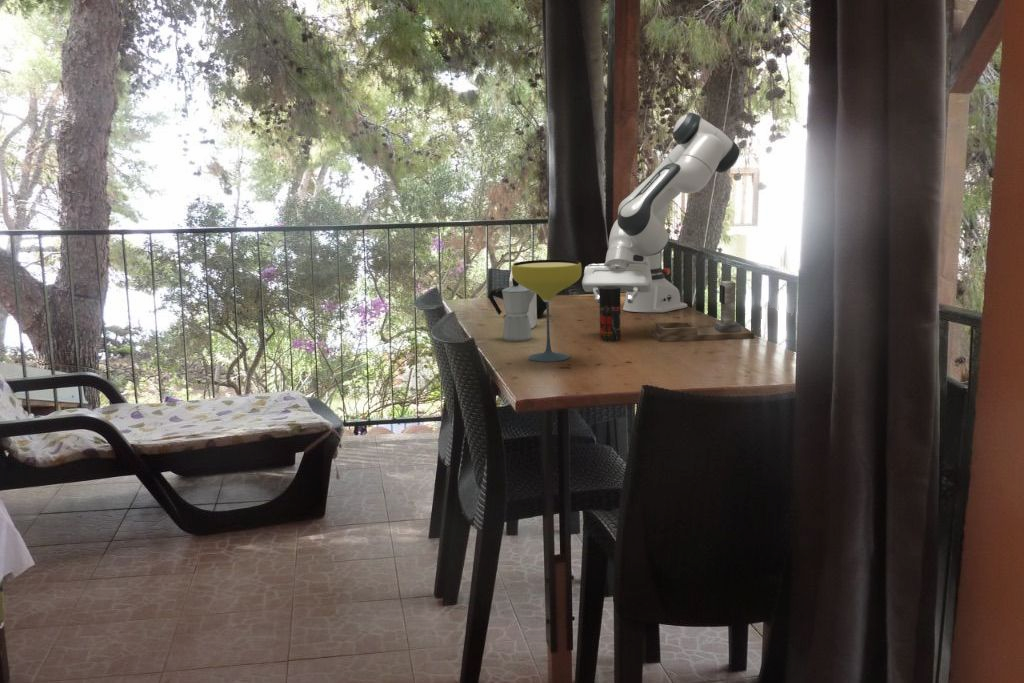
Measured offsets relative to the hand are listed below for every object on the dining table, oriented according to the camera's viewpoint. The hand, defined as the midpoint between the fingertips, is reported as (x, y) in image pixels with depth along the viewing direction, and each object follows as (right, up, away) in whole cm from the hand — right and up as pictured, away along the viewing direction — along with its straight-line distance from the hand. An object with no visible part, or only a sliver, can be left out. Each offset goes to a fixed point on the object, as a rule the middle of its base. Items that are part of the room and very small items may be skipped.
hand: (614, 301), depth 277 cm
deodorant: (-1, -11, 0) cm, 11 cm away
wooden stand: (+25, -10, +1) cm, 27 cm away
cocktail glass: (-20, -16, -22) cm, 33 cm away
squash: (-24, -3, +44) cm, 51 cm away
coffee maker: (-29, -11, +6) cm, 31 cm away
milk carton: (-25, -7, +25) cm, 36 cm away
